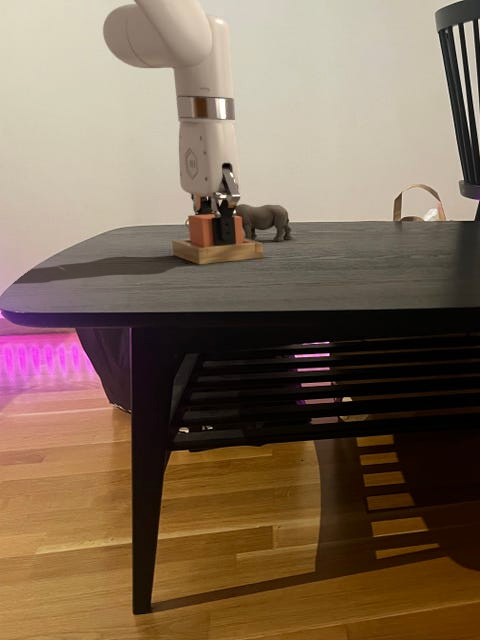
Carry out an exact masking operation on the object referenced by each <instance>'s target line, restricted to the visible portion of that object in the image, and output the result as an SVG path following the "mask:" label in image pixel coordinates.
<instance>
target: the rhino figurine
mask: <svg viewBox="0 0 480 640" xmlns="http://www.w3.org/2000/svg"><path fill="white" fill-rule="evenodd" d="M235 211H236V216H240V217H242V231H243V232H244V238H246V239H249V240H255V239H256V238H257V237H258V235H257V234H256V230H259V231H267V230H269V229H272V228H273V227H274V228H275V229H276V235H275V236H274V237H273V242H282V241H284V240H291V239H293V236H292V235H291V232H292V228H291V227H290V226H289V222H290V219H289V213H288V211H287V210H286V208H285V207H283V206H282V205H280V204H264V205H261V206H252V205H250V204H246V203H240V204H237V205H236V208H235Z"/></svg>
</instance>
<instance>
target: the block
mask: <svg viewBox="0 0 480 640" xmlns="http://www.w3.org/2000/svg"><path fill="white" fill-rule="evenodd" d="M187 217H188V219H187V220H188V229H189V230H188V231H189V239H190V242H191V243H192V244H196V245H199V246H202V247H209V246H216V245H214V242H213V229H212V218H214V217H215V216H214V214H209V215H195V214H192V215H191V214H190V215H187ZM234 218H235V232H236V244H242V243H243V238H244V233H243V232H244V230H243V227H242V217H240V216H235V217H234Z"/></svg>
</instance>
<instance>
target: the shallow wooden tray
mask: <svg viewBox="0 0 480 640" xmlns="http://www.w3.org/2000/svg"><path fill="white" fill-rule="evenodd" d="M171 243H172V253H173V256H175V257H178V258H181V259H184V260H186V261H189V262H191V263H195V264H197V265H208V264H218V263H226V262H235V261H242V260H243V261H245V260H254V259H263V258H264V248H263V242H260V241H256V240H254V239H252V240H249V239H246V238H245V237H243V243H242V244H231V245H220V246H209V247H202V246H199V245H196V244H192V243H191V242H190V238H184V239H173V240H171Z"/></svg>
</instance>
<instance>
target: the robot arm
mask: <svg viewBox="0 0 480 640" xmlns="http://www.w3.org/2000/svg"><path fill="white" fill-rule="evenodd" d="M133 2H134V3H130V4H123V5H120V6H118V7H116V8H114V9H113V10H112V11H110V12H109V13H108V14H107V16H106V18H105V20H104V22H103V26H102V27H103V28H102V35H103V40H104V42H105V45H106V47H107V48H108V50H109V51H110V52H111V54H112V55H113V56H114V57H116V58H117V59H118V60H119V61H121V62H122V63H124V64H126V65H128V66H130V67H135V68H140V69H168V68H169V69H173V76H174V87H175V95H176V96H175V98H176V109H177V111H176V112H177V121H178V122H179V130H178V163H179V182H180V188H181V189H182V190H183V191H184V192H186V193H188V194H190V198H191V200H192V203H193V204H192V205H193V206H192V208H193V209H192V210H193V212H194V215H209V214H214V216H215V217H214V218H212V229H213V242H214V245H216V246H220V245H231V244H236V232H235V218H234V217H235V216H236V211H235V208H236V206H237V205H238V204H239V201H240V200H241V194H240V190H241V174H240V173H241V172H240V161H239V153H238V145H237V137H236V133H235V127H234V125H236V110H235V97H234V96H235V95H234V79H233V78H234V77H233V66H232V65H233V64H232V51H231V50H232V49H231V35H230V28H229V25H228V23H227V22H226V20H224V19H223V18H222V17H220V16H217V15H212V14H208V13H205V11H204V8H203V7H202V5H201V3H200V2H199V0H133ZM217 193H218V194H217ZM220 201H221V202H220Z"/></svg>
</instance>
